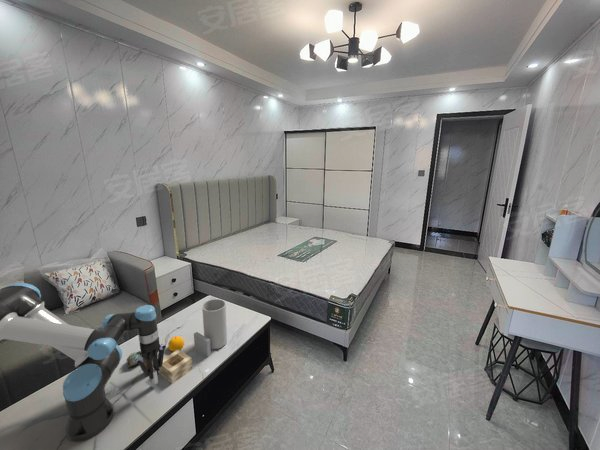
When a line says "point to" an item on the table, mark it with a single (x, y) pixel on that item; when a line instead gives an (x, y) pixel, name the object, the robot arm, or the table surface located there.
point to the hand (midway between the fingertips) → (155, 382)
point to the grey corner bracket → (197, 355)
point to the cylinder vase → (215, 322)
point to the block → (175, 366)
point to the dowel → (146, 364)
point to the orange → (176, 343)
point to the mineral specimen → (133, 359)
